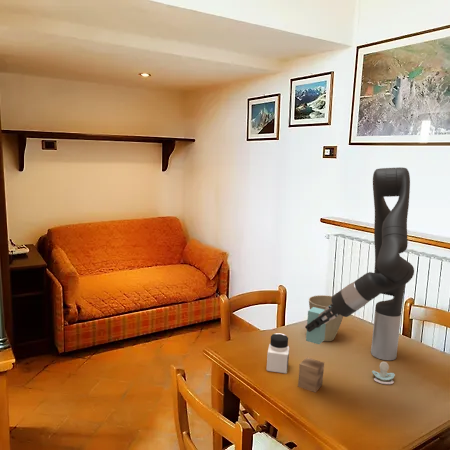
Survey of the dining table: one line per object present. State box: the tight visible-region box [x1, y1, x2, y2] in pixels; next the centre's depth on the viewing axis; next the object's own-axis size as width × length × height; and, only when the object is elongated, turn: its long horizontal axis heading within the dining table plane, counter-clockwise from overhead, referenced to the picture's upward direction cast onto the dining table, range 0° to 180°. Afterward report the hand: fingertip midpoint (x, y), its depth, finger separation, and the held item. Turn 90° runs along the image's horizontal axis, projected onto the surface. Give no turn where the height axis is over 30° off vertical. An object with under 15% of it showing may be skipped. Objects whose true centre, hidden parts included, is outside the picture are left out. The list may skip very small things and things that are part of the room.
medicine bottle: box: [266, 332, 290, 374], centre depth 150 cm, size 7×7×12 cm
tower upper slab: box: [298, 356, 325, 381], centre depth 138 cm, size 6×6×4 cm
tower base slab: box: [297, 374, 324, 393], centre depth 139 cm, size 6×6×4 cm
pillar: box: [305, 307, 326, 345], centre depth 136 cm, size 4×4×10 cm
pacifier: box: [371, 361, 396, 385], centre depth 144 cm, size 7×6×6 cm
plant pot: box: [308, 294, 343, 342], centre depth 176 cm, size 15×15×16 cm
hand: (310, 326), depth 137 cm, fingers closed on pillar, 4 cm apart
